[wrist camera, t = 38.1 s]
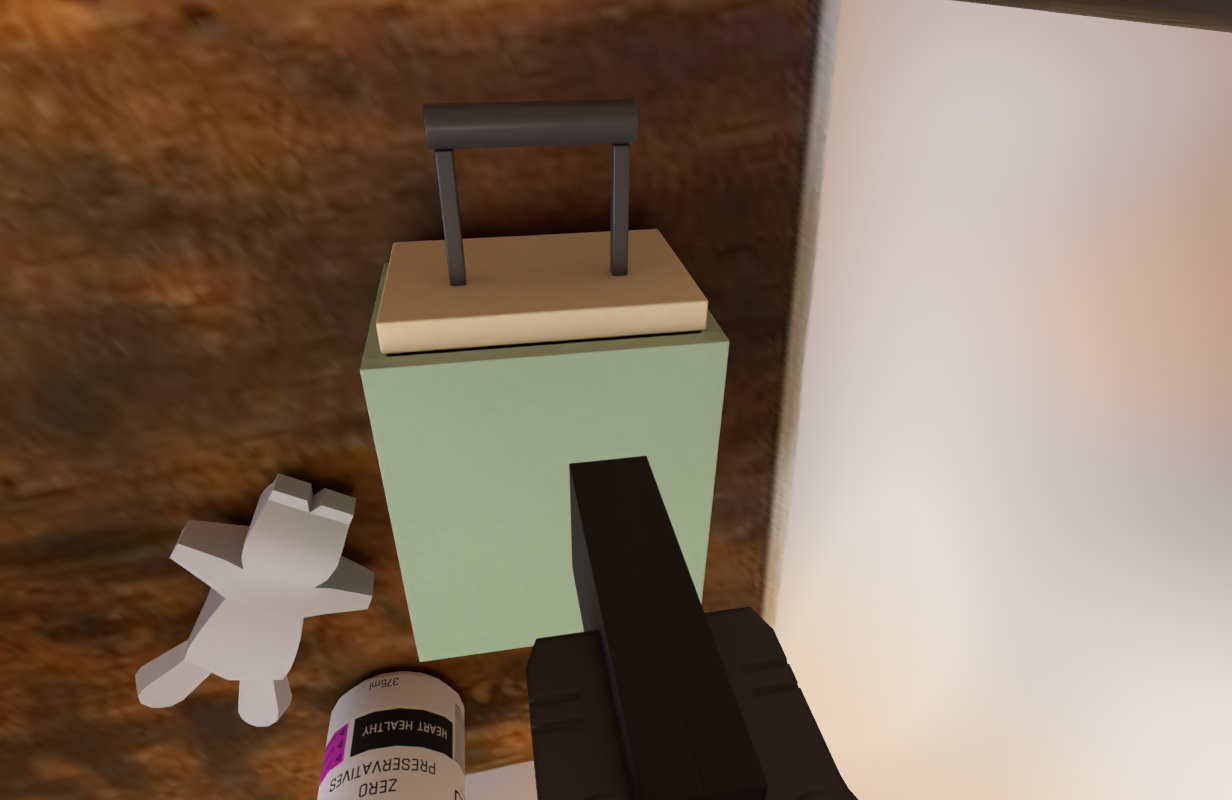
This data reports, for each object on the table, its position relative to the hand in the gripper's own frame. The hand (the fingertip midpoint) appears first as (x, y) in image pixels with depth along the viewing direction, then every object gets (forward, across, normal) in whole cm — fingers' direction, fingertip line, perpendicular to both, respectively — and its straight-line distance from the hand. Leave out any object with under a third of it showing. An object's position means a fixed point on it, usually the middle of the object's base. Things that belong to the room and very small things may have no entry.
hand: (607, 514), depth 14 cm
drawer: (+20, 0, -5) cm, 20 cm away
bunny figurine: (+21, -15, -20) cm, 32 cm away
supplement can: (+21, -10, -32) cm, 40 cm away
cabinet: (+20, 0, -10) cm, 23 cm away
